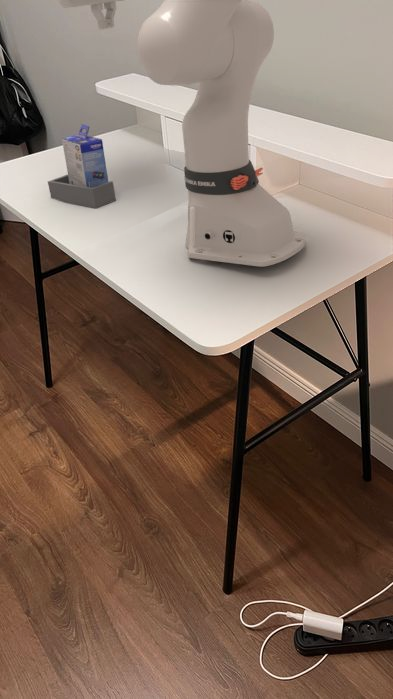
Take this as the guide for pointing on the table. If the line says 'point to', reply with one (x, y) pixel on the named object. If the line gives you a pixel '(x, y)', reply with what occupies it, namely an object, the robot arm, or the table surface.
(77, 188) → the bay
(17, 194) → the table surface
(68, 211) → the table surface
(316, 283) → the table surface
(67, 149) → the ink cartridge box
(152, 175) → the table surface
